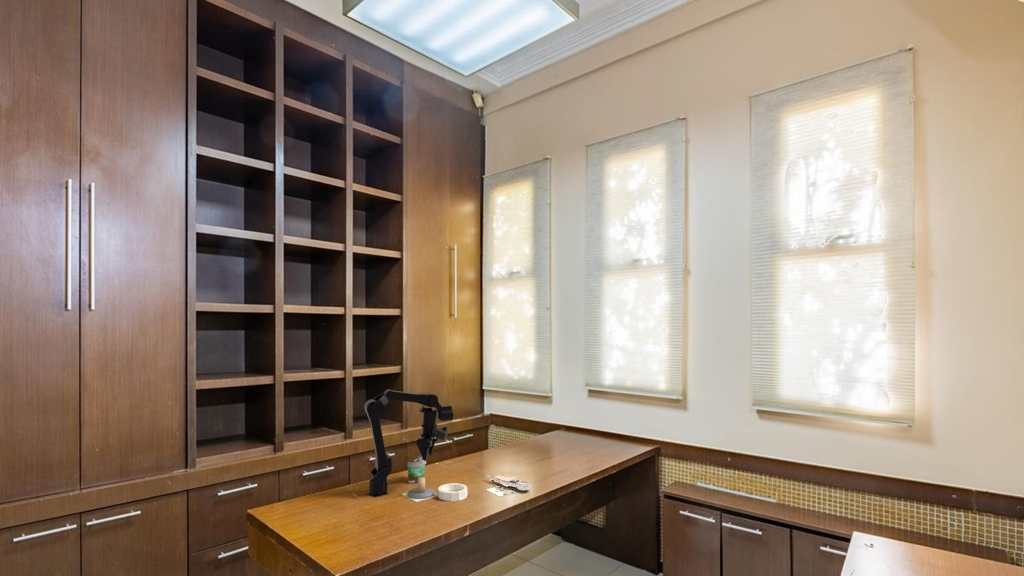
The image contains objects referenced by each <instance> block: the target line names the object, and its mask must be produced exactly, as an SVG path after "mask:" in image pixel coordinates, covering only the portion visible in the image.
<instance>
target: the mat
mask: <svg viewBox="0 0 1024 576" xmlns="http://www.w3.org/2000/svg"><path fill="white" fill-rule="evenodd" d="M401 495H402V496H404V497H406V498H408V499H410V500H412V501H414V502H416V503H418V502H421V501H426V500H428V499H432V498H436V497H438V492H436V491H434V495H433V496H432V497H430V498H426V499H413V498H410V497H408V491H407V492H403V493H401Z"/></svg>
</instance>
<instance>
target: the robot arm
mask: <svg viewBox="0 0 1024 576" xmlns="http://www.w3.org/2000/svg"><path fill="white" fill-rule="evenodd" d="M391 401H398V402H399V401H400V402H408V403H417V404H420V405H422V406H421V408H419V409H418V412H419V413H422V414H423V415H422V424H421V428H422V430H421V431H422V433H421V434H420V437H419V438H417V440H416V441H415V445H416V447H417V448H418V450H419V452H420V456H422V458H423V460H424V461H426V462H427V457H428V455H429V456H432V455H433V450H434V448H435V445H436V442H437V441H438V440H439V439H440V440H441V441H445V440H447V437H448V435H449V431H448V427H446V426H445V425H444V426H443V427H438V423H437V420H438V421H439V422H451V421H453V419H454V412H453V406H452V405H451V404H449V405H441V404H440V402H439V397H438V396H437V395H436V394H434V393H432V392H420V393H417V392H416V393H414V392H409V391H408V392H405V391H398V390H392V389H385V391H383V393H381V394H378V395H377V396H375V397H374V398H373V399H372V398H371V399H368V400H367V401H366V402H365V403H364V405H363V407H364V411H365V413H366V415H367V416H366V417H367V418H368V420H369V421H368V422H369V423H370V428H371V429H370V430H371V434H372V440H373V441H372V442H373V445H374V450H375V451H374V452H375V457H374V458H375V460H374V463H375V464H374V467H373V468H372V469H371V470H370V472H369V475H370V477H371V479H369V486H368V487H369V488H368V489H369V491H368V492H367V493H366V494H367V495H369V496H371V497H373V498H377V497H381V496H385V495H388V494H389V492H388V481H387V480H388V476H389V475H390V474H391V473H392V472H393V471H392V470H393V469H392V468H394V466H393V464H392V456H391V455H389V453H387V452H386V448H385V443H384V442H385V441H384V437H383V432H382V426H381V416H382V415H381V414H382V412H381V411H382V410H381V409H382V408H384V407H385V406H386V405H387V404H389V402H391ZM433 408H434V409H433Z"/></svg>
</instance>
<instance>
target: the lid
mask: <svg viewBox="0 0 1024 576" xmlns="http://www.w3.org/2000/svg"><path fill="white" fill-rule="evenodd" d="M407 492H408V497H410V498H413V499H425V500H427V499H426V498H429V499H431V498H430V497H432V496H433V495H434V492H435V489H433V488H430V487H426V477H420V478H418V483H417V487H415V488H412V489H410V490H408V491H407ZM408 497H407V498H408ZM410 498H409V499H410ZM432 498H433V497H432Z"/></svg>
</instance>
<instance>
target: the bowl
mask: <svg viewBox="0 0 1024 576" xmlns="http://www.w3.org/2000/svg"><path fill="white" fill-rule="evenodd" d="M468 488H469V487H468V486H467V485H466V484H462V483H457V482H456V483H454V482H453V483H446V484H441V485H440V486H439V487H437V493H438V496H437V497H438V498H439V499H440V500H442V501H445V502H446V501H447V502H457V501H462V500H465V499H466V498H467V497H468V491H469V490H468Z"/></svg>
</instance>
